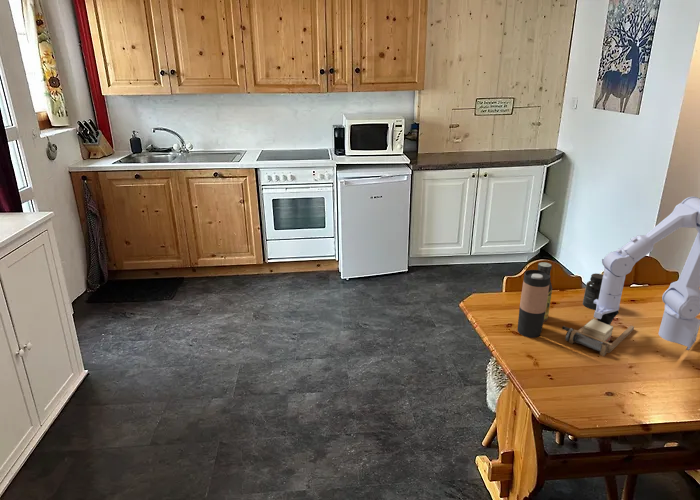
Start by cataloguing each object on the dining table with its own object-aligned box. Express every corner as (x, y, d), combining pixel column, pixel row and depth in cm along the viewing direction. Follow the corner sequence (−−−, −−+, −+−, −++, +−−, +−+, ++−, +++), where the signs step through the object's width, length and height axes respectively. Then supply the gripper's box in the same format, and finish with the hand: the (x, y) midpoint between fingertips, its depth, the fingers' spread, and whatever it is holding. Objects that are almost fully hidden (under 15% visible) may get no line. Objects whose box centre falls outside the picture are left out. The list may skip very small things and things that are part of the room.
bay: (632, 332, 154) (635, 322, 153) (608, 355, 142) (610, 345, 141) (597, 319, 162) (599, 310, 160) (571, 340, 150) (573, 330, 148)
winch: (607, 355, 142) (610, 340, 141) (601, 360, 140) (604, 345, 138) (563, 337, 151) (566, 323, 149) (557, 342, 149) (560, 328, 147)
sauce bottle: (548, 325, 158) (558, 269, 151) (528, 323, 159) (536, 268, 152) (545, 315, 164) (554, 261, 157) (526, 314, 165) (533, 260, 158)
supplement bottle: (607, 312, 166) (614, 280, 162) (587, 312, 166) (593, 280, 162) (598, 302, 173) (604, 272, 168) (578, 302, 173) (584, 271, 168)
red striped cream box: (610, 340, 148) (613, 326, 146) (602, 348, 144) (605, 333, 142) (590, 332, 152) (592, 318, 150) (581, 340, 148) (584, 325, 147)
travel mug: (514, 334, 153) (522, 276, 146) (518, 323, 160) (526, 267, 152) (540, 340, 150) (549, 281, 143) (543, 329, 156) (552, 272, 149)
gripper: (606, 280, 153) (599, 318, 158) (586, 294, 144) (579, 334, 149) (631, 287, 148) (622, 326, 153) (611, 302, 139) (603, 343, 144)
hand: (602, 330), depth 150 cm, fingers closed
